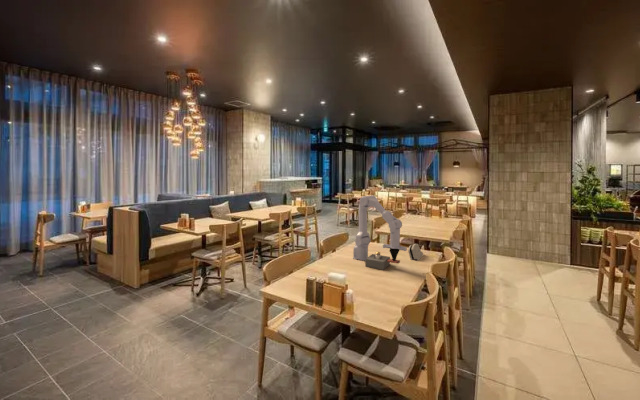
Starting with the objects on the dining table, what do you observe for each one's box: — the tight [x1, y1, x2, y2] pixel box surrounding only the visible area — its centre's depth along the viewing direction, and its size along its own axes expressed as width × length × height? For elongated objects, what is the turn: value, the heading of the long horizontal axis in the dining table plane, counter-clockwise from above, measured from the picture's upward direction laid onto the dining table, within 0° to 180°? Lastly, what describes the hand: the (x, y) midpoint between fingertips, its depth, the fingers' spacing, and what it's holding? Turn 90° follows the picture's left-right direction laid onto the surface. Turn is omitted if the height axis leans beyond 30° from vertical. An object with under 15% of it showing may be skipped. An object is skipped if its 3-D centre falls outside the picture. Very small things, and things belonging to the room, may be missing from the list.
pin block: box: [365, 253, 391, 271], centre depth 197 cm, size 12×12×5 cm
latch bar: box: [387, 258, 401, 265], centre depth 191 cm, size 7×4×1 cm, turn 59°
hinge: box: [407, 243, 424, 262], centre depth 214 cm, size 17×5×10 cm, turn 149°
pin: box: [375, 251, 381, 259], centre depth 196 cm, size 3×3×8 cm
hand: (394, 260), depth 191 cm, fingers closed
